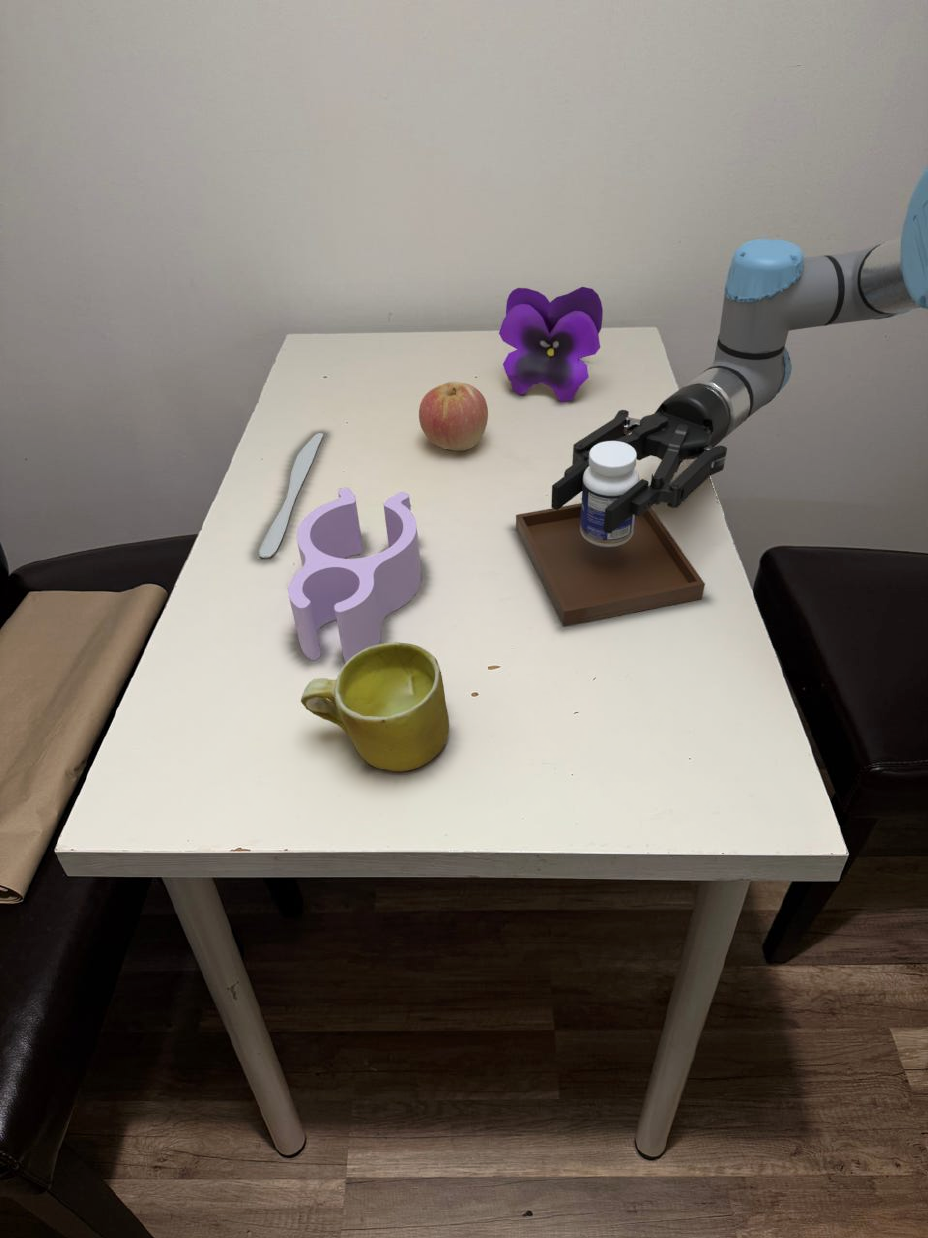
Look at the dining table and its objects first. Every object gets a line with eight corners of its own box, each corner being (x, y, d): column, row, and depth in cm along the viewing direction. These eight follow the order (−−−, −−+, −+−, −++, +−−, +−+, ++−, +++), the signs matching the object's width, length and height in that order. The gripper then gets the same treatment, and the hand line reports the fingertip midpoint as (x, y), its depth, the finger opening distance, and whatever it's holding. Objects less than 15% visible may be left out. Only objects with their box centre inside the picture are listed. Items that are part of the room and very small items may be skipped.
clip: (391, 668, 87) (383, 616, 82) (270, 655, 89) (257, 603, 85) (434, 544, 101) (430, 493, 97) (329, 535, 104) (321, 485, 99)
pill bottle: (590, 511, 98) (595, 432, 91) (640, 524, 96) (650, 444, 89) (571, 541, 94) (576, 461, 88) (623, 554, 92) (632, 473, 86)
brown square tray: (702, 599, 93) (705, 583, 91) (563, 626, 91) (563, 611, 89) (639, 506, 105) (641, 492, 104) (515, 529, 103) (515, 514, 102)
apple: (474, 466, 113) (472, 409, 108) (410, 454, 116) (405, 398, 110) (498, 432, 119) (497, 377, 114) (437, 421, 122) (433, 367, 116)
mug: (476, 682, 83) (441, 628, 75) (453, 787, 78) (414, 742, 70) (358, 677, 87) (313, 626, 79) (330, 776, 82) (279, 732, 74)
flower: (515, 391, 137) (486, 389, 125) (531, 289, 133) (503, 276, 121) (607, 406, 133) (586, 406, 121) (627, 300, 129) (607, 289, 116)
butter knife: (248, 554, 101) (273, 554, 100) (307, 432, 121) (328, 432, 120) (249, 558, 101) (274, 558, 101) (308, 436, 121) (329, 436, 120)
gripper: (771, 470, 99) (657, 576, 86) (628, 418, 108) (507, 506, 96) (785, 410, 94) (666, 513, 81) (634, 360, 103) (507, 445, 91)
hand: (580, 509), depth 88 cm, fingers closed on pill bottle, 6 cm apart
